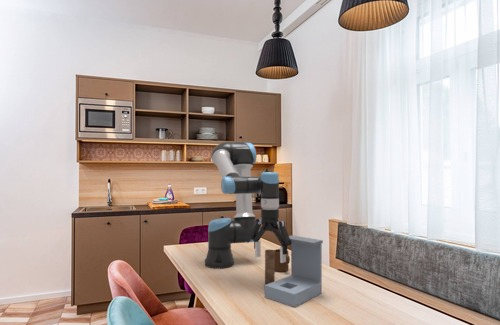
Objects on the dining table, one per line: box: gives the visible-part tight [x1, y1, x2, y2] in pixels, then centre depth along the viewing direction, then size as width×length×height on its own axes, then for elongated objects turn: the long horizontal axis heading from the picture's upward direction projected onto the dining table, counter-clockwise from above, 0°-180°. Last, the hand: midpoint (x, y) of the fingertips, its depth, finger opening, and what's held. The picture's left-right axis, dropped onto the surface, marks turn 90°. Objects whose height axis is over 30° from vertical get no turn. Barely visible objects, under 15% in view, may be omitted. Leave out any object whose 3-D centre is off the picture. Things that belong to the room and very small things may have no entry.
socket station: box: [264, 235, 324, 308], centre depth 133 cm, size 15×18×21 cm
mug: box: [274, 248, 291, 273], centre depth 164 cm, size 12×8×9 cm, turn 22°
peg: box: [264, 249, 276, 286], centre depth 142 cm, size 4×4×15 cm
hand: (270, 259), depth 142 cm, fingers open, 13 cm apart
